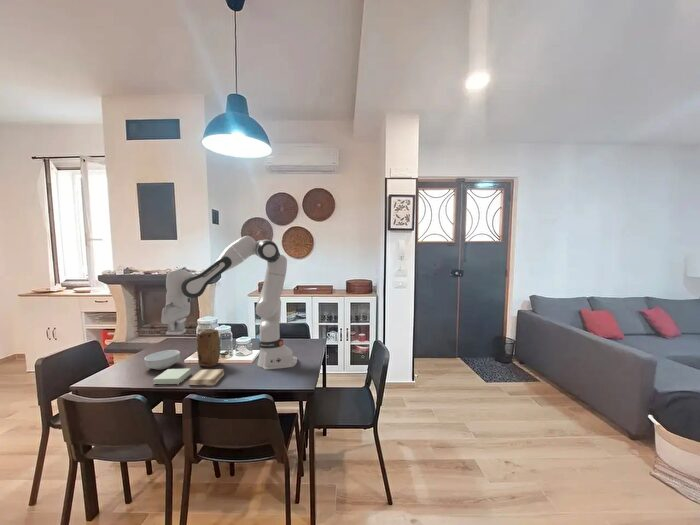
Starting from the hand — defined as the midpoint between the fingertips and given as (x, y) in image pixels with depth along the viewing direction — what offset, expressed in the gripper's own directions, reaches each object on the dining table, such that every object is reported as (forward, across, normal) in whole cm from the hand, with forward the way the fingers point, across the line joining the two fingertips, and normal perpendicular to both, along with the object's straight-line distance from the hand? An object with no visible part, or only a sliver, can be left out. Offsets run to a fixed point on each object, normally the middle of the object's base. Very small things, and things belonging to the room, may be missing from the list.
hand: (176, 328), depth 144 cm
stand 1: (+26, +1, +2) cm, 27 cm away
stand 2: (+26, -1, -16) cm, 30 cm away
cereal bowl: (+27, +18, +17) cm, 37 cm away
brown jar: (+26, +19, -8) cm, 33 cm away
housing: (+2, 0, 0) cm, 2 cm away
